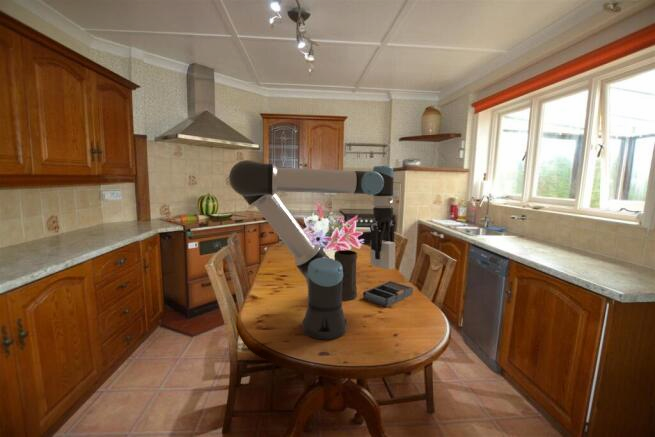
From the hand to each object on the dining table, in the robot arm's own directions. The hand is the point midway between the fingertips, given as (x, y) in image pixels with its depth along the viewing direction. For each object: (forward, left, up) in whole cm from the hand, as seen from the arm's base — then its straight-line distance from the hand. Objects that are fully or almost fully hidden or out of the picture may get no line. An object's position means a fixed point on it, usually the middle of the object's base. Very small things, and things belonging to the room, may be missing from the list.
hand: (382, 265), depth 120 cm
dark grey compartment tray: (+12, +4, -17) cm, 22 cm away
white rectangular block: (0, 0, 0) cm, 0 cm away
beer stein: (0, +19, -18) cm, 26 cm away
